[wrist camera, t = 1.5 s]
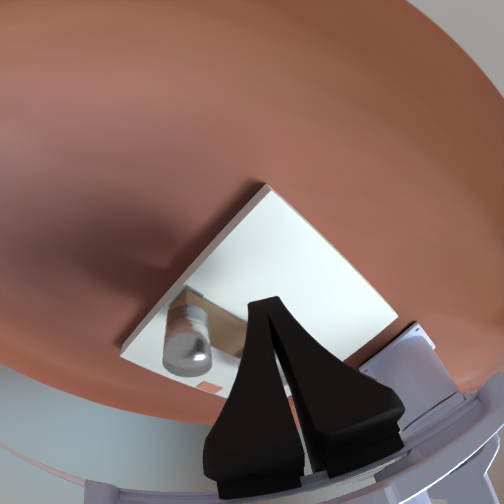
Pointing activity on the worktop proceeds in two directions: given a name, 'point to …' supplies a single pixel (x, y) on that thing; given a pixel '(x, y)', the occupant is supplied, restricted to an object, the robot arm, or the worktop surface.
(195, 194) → the worktop surface
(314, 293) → the base
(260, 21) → the worktop surface
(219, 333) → the silver piece
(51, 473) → the worktop surface
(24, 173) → the worktop surface
